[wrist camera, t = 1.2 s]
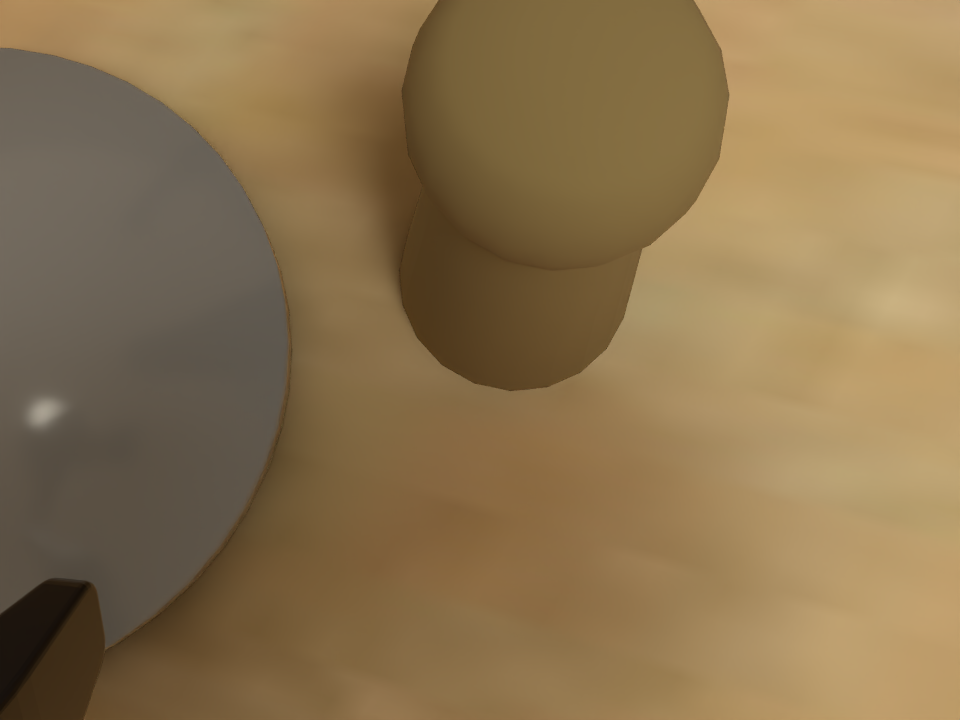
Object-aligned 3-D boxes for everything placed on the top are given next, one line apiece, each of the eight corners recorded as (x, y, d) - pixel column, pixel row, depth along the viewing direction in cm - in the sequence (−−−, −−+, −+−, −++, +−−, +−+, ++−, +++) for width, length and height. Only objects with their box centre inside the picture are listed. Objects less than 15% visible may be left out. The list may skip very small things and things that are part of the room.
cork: (351, 292, 23) (279, 74, 13) (496, 126, 25) (542, -203, 14) (535, 439, 23) (621, 340, 12) (674, 262, 24) (867, 29, 13)
